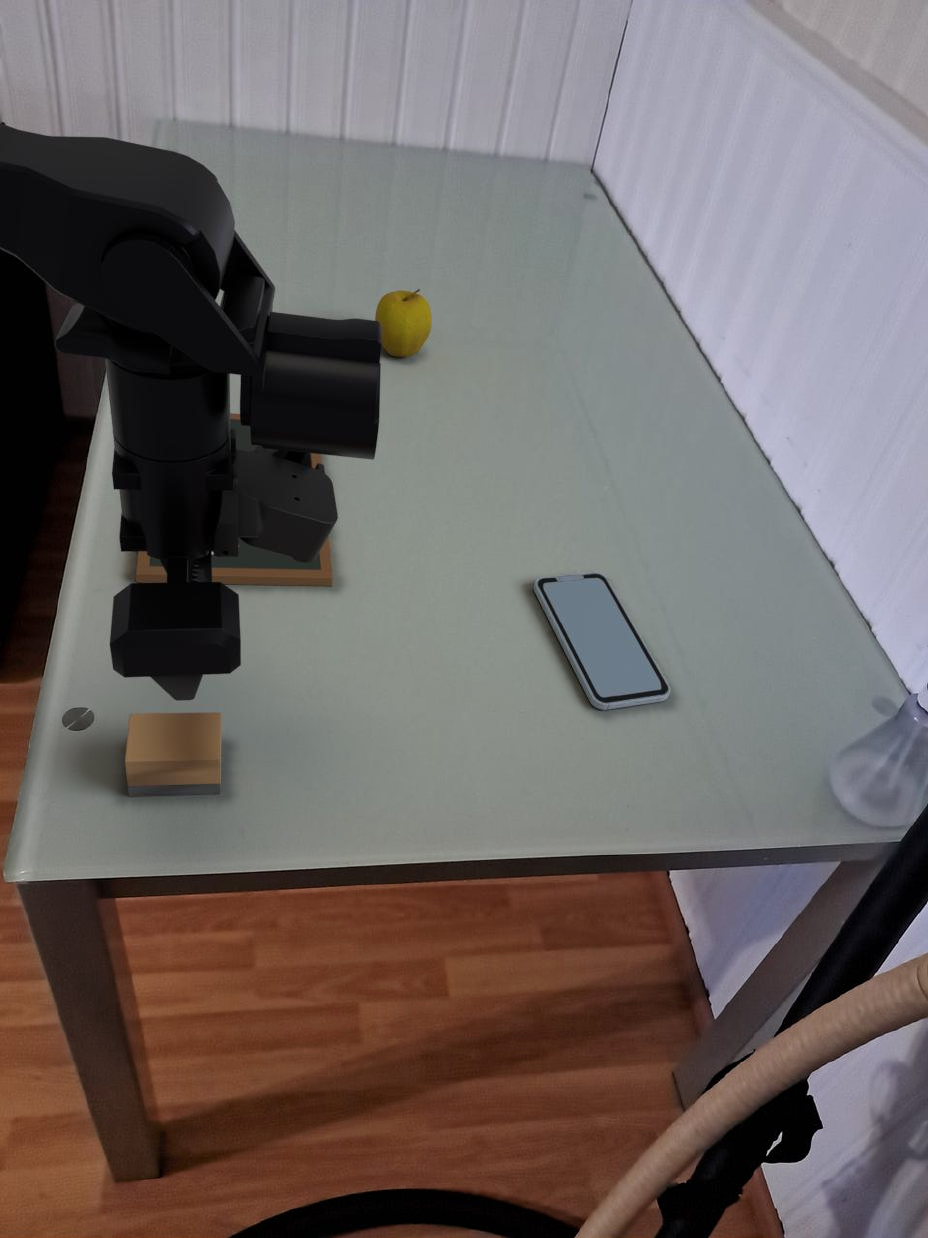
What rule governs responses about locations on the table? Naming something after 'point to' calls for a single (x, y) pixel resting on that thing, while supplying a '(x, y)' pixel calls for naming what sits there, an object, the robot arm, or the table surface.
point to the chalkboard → (252, 552)
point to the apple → (404, 322)
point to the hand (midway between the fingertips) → (185, 641)
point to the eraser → (173, 754)
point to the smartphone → (601, 641)
